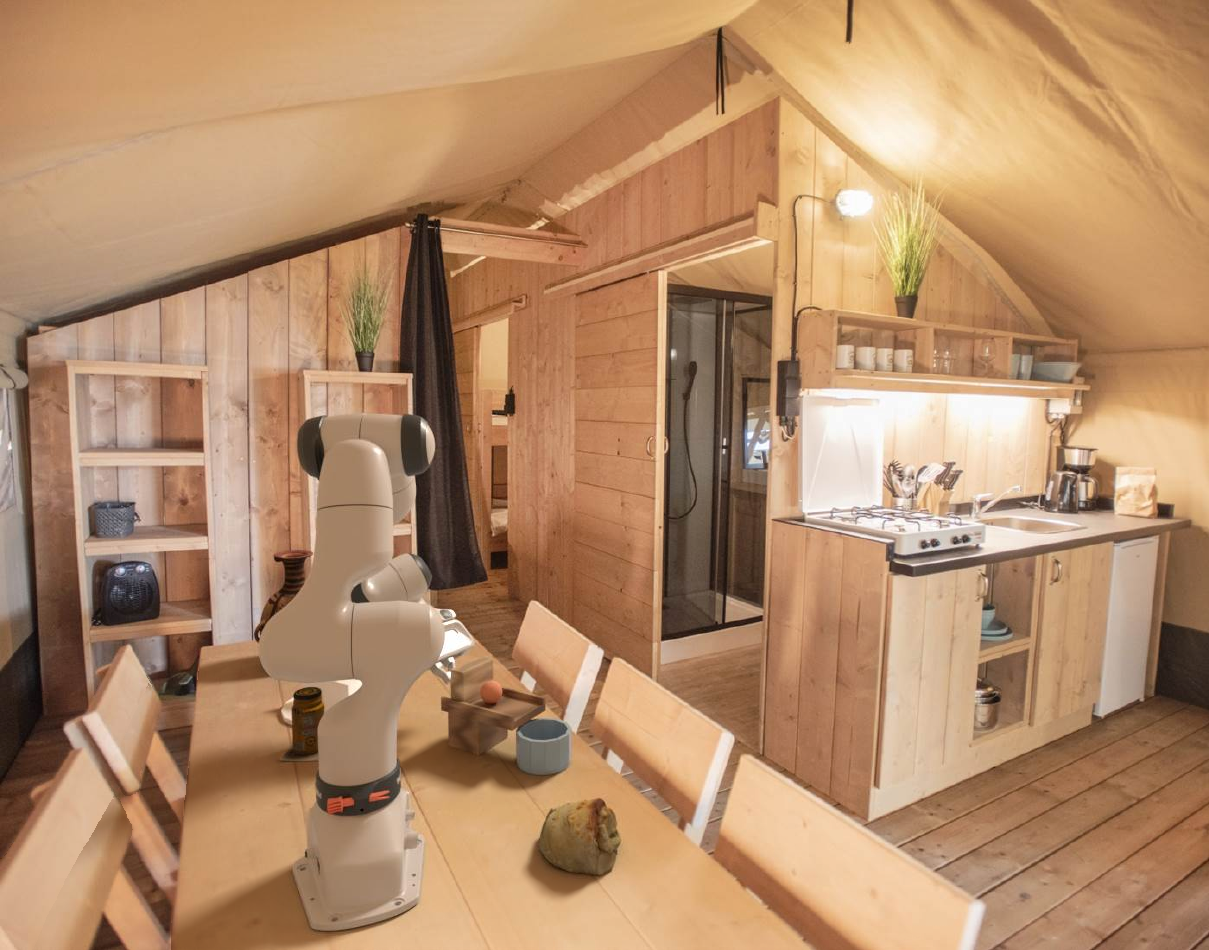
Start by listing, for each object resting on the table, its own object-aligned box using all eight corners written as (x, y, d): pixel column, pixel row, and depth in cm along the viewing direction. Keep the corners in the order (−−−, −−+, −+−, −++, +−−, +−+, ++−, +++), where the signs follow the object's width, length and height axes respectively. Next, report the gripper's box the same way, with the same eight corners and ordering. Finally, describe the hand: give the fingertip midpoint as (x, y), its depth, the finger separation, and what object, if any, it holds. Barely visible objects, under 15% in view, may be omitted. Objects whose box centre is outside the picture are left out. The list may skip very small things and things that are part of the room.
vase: (330, 645, 204) (327, 543, 201) (346, 664, 189) (343, 554, 187) (248, 660, 192) (244, 551, 189) (259, 680, 177) (254, 563, 175)
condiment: (332, 741, 144) (331, 684, 143) (317, 761, 136) (315, 701, 135) (296, 741, 144) (294, 684, 143) (279, 761, 136) (276, 701, 135)
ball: (504, 705, 140) (504, 683, 140) (482, 708, 139) (482, 686, 138) (499, 697, 144) (499, 676, 144) (478, 700, 143) (477, 679, 142)
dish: (412, 688, 173) (411, 643, 172) (368, 733, 148) (367, 681, 147) (317, 684, 176) (316, 640, 175) (258, 728, 151) (256, 677, 150)
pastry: (633, 870, 104) (634, 818, 103) (551, 888, 100) (551, 834, 99) (604, 818, 117) (604, 772, 116) (530, 832, 113) (530, 784, 112)
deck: (441, 746, 142) (441, 697, 141) (477, 726, 151) (476, 680, 150) (512, 769, 133) (511, 717, 132) (545, 746, 142) (545, 697, 141)
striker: (450, 703, 141) (450, 669, 141) (480, 688, 149) (480, 656, 148) (464, 707, 139) (463, 672, 139) (493, 691, 147) (492, 659, 147)
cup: (578, 769, 133) (578, 736, 132) (525, 779, 129) (525, 745, 128) (560, 745, 142) (560, 714, 142) (511, 754, 138) (510, 723, 138)
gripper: (387, 631, 141) (424, 688, 136) (458, 608, 158) (492, 658, 154) (372, 649, 143) (408, 706, 139) (443, 624, 161) (477, 674, 156)
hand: (453, 680), depth 147 cm, fingers closed
